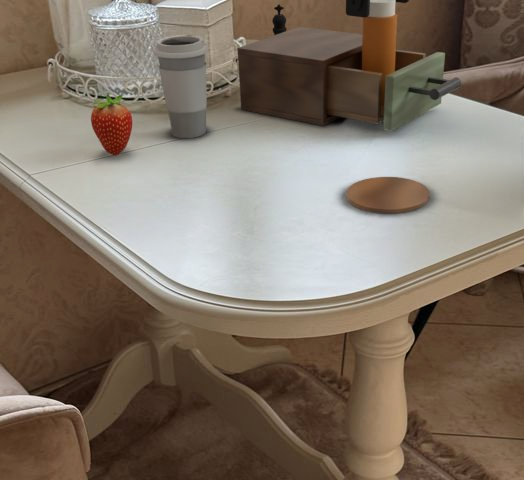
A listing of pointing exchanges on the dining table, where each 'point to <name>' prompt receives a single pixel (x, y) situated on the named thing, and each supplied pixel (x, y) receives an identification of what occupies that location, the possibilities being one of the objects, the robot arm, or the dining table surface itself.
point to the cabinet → (292, 72)
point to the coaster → (388, 195)
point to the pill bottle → (380, 40)
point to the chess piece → (279, 21)
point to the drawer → (387, 88)
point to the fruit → (112, 124)
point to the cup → (184, 83)
